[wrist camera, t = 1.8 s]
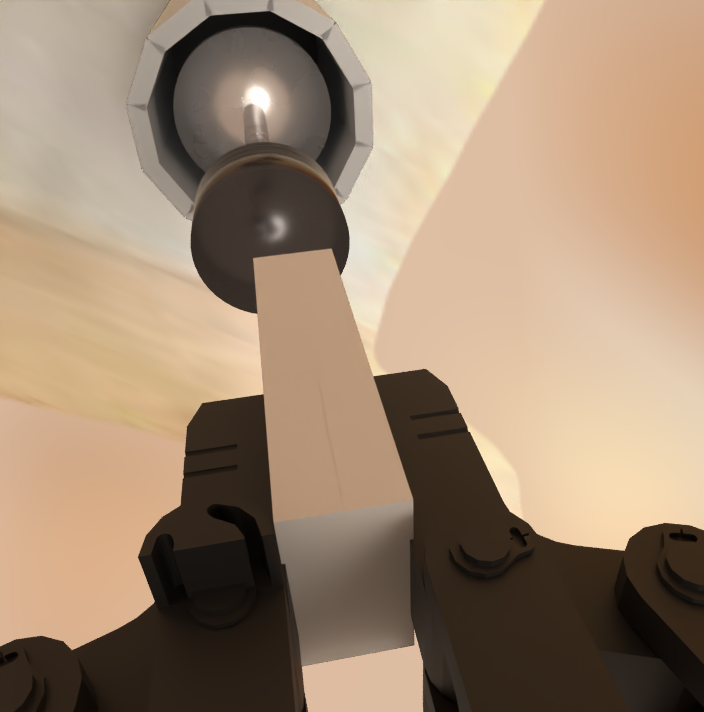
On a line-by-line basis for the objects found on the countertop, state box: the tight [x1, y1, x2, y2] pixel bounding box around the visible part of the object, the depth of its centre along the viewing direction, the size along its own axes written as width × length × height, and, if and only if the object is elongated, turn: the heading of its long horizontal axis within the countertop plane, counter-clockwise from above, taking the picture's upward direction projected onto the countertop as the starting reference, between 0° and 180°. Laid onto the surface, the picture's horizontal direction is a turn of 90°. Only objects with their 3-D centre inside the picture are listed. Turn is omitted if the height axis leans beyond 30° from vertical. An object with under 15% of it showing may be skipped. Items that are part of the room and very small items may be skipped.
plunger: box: [173, 25, 349, 314], centre depth 24 cm, size 7×7×15 cm
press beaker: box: [126, 0, 373, 221], centre depth 35 cm, size 13×11×15 cm
